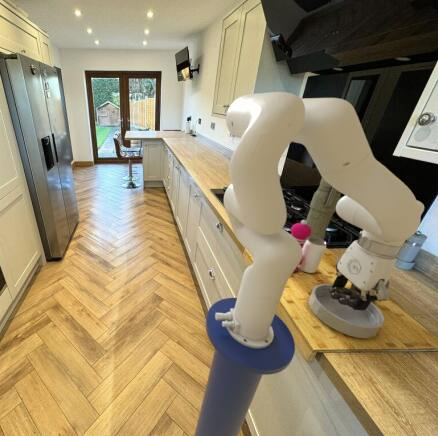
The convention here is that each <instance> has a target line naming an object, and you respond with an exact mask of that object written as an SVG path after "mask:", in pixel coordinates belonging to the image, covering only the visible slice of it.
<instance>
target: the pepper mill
mask: <svg viewBox="0 0 438 436" xmlns="http://www.w3.org/2000/svg"><path fill="white" fill-rule="evenodd" d="M306 224H307V221H306V219H302V220H301V221H300V222H297V223H294V224H292V226H291V228H290V234H291V235H292V236H293V237H294V238H295V239H296V240H297V241H298V242H299V244H300V246H301V248H302V249H303V247H302V246H303V244H304V243H305V242H306V240H307V237H309V236H310V235H311V228H310V227H309V226H308V225H306ZM302 260H303V255H302V259H301V261H300V263H299V265H300V264H301V263H302ZM298 269H299V268H298V266H297V267H296V269H295V270H294V271H293V273H296V272H297V271H298ZM293 273H292V274H293Z"/></svg>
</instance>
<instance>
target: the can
mask: <svg viewBox="0 0 438 436" xmlns="http://www.w3.org/2000/svg"><path fill="white" fill-rule="evenodd" d="M326 250H327V242H326V240H325V239H324V240H322V239H319V238H315V237H309V238H308V240H306V242H305V244H304V246H303V247H302V252H303V260H302V263H301V264H300V265H298V269H299V270H300V271H302V272H304V273H307V274H314V273H316V272H317V271H318V268H319V267H320V264H321V262H322V259H323V257H324V255H325V254H326Z"/></svg>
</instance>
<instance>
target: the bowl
mask: <svg viewBox="0 0 438 436" xmlns="http://www.w3.org/2000/svg"><path fill="white" fill-rule="evenodd" d="M332 285H333V283H321V284H317V285H315V286H314V287H313V288H312V291H311V293H310V295H309V296H308V297H309V298H308V302H307V303H308V306H309V308H310V310H311V311H312V313H313V314H314V316H316V317H317V318H318V319H319V320H320V321H321V322H322V323H324V324H325V325H327V326H328V327H329V328H332V329H333V330H335V331H336V332H340V333H342V334H344V335H347V336H350V337H353V338H358V339H369V338H372V337H376V335H377V334H378V332H379V331H380V329H381V328H382V326H383V325H384V323H385V316H384V314H383V312H382V311H381V309H380V308H379V307H378V305H376V304H375V303H374V302H373V301H371V303H370V304H369V306H368V307H367V309H366V310H354V309H353V308H352V307H349V306H348V305H342V304H340V303H339V302H338V300H337V299H333V298H331V294H330V293H329V289H330V288H332ZM357 294H358V293H357ZM346 298H350V297H349V296H347V295H346Z"/></svg>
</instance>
